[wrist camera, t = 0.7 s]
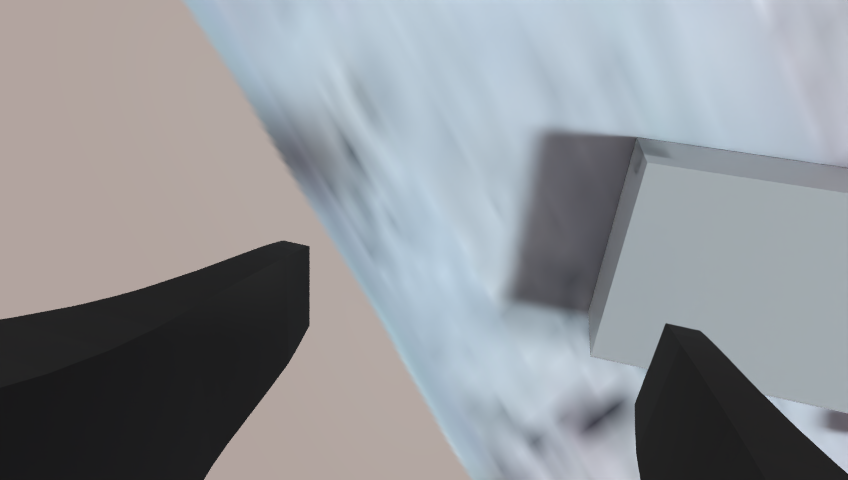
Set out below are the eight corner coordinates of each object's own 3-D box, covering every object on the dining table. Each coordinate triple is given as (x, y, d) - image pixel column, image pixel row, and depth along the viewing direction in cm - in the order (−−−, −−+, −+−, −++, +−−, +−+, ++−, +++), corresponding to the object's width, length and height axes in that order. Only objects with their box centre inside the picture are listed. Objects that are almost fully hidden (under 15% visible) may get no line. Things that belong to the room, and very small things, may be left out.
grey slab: (875, 371, 19) (920, 429, 16) (588, 312, 21) (590, 356, 18) (987, 188, 16) (1064, 226, 13) (636, 137, 17) (647, 162, 15)
